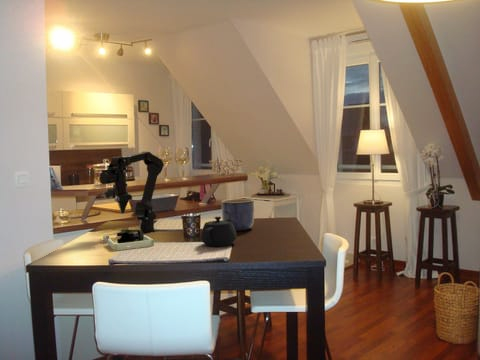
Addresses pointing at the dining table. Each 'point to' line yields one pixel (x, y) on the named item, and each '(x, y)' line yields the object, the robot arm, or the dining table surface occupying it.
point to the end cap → (130, 236)
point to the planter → (239, 213)
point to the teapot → (218, 233)
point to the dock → (106, 238)
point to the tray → (131, 244)
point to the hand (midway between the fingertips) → (122, 213)
